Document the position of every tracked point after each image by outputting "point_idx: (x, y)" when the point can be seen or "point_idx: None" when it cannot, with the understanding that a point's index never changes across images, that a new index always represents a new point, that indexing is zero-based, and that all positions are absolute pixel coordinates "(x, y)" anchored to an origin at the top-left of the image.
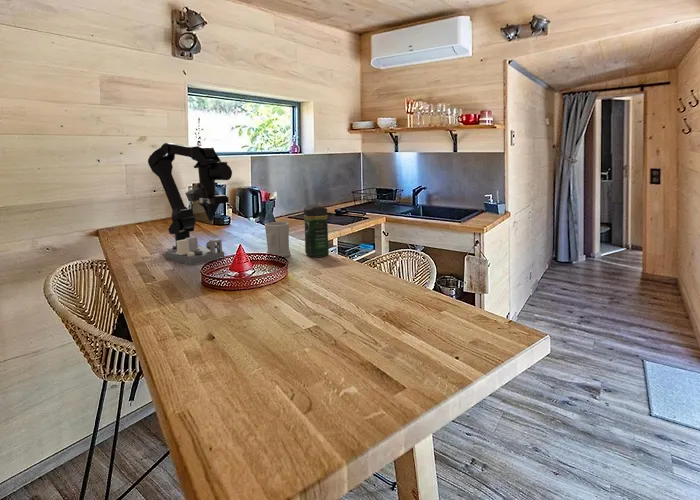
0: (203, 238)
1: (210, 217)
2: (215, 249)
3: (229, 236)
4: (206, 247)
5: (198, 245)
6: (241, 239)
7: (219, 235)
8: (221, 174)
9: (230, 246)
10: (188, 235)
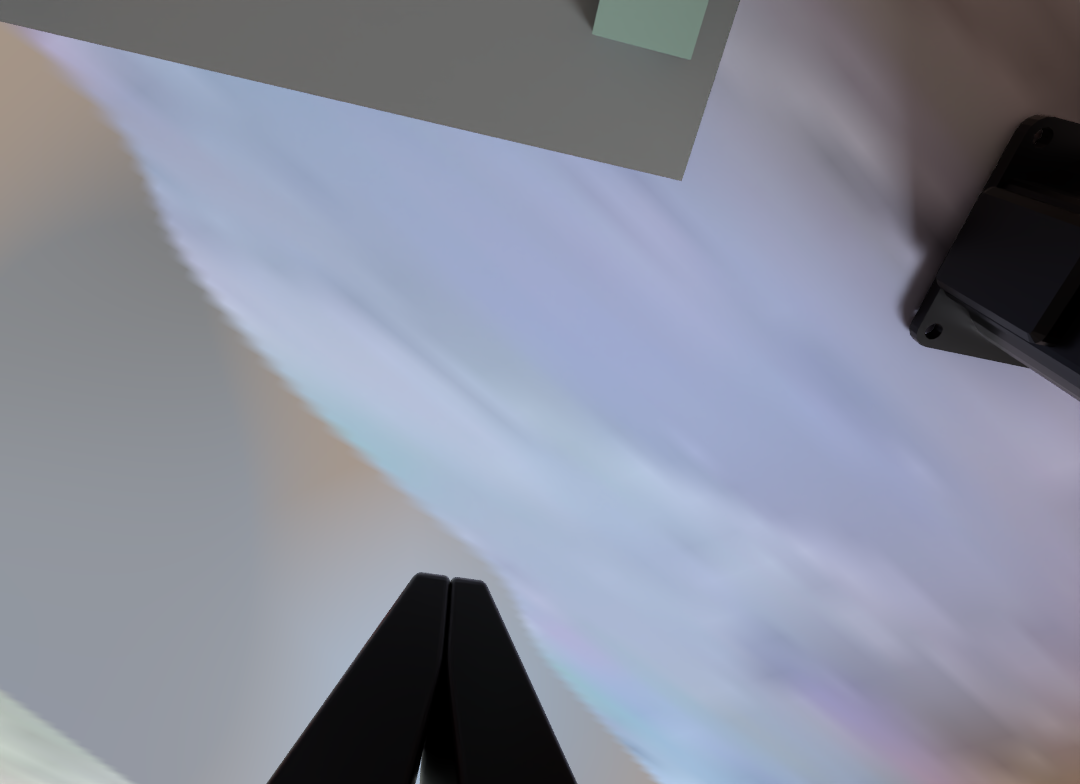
0: (1061, 659)
1: (360, 664)
2: (109, 45)
3: (839, 781)
4: (409, 108)
5: (673, 177)
6: (635, 748)
7: (965, 776)
8: None
9: (489, 527)
10: (1076, 345)
